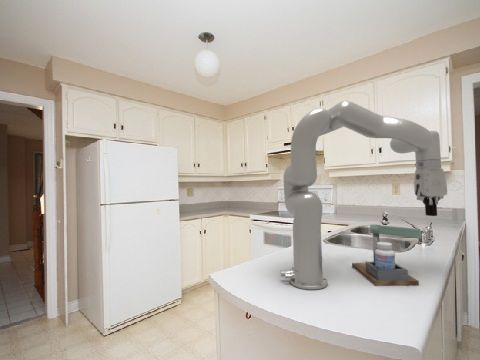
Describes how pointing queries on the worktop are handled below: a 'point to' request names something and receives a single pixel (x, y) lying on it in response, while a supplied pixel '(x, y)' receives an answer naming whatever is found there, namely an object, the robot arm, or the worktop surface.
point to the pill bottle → (384, 256)
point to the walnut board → (362, 270)
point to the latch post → (375, 243)
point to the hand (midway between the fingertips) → (431, 215)
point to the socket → (387, 273)
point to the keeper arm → (395, 231)
